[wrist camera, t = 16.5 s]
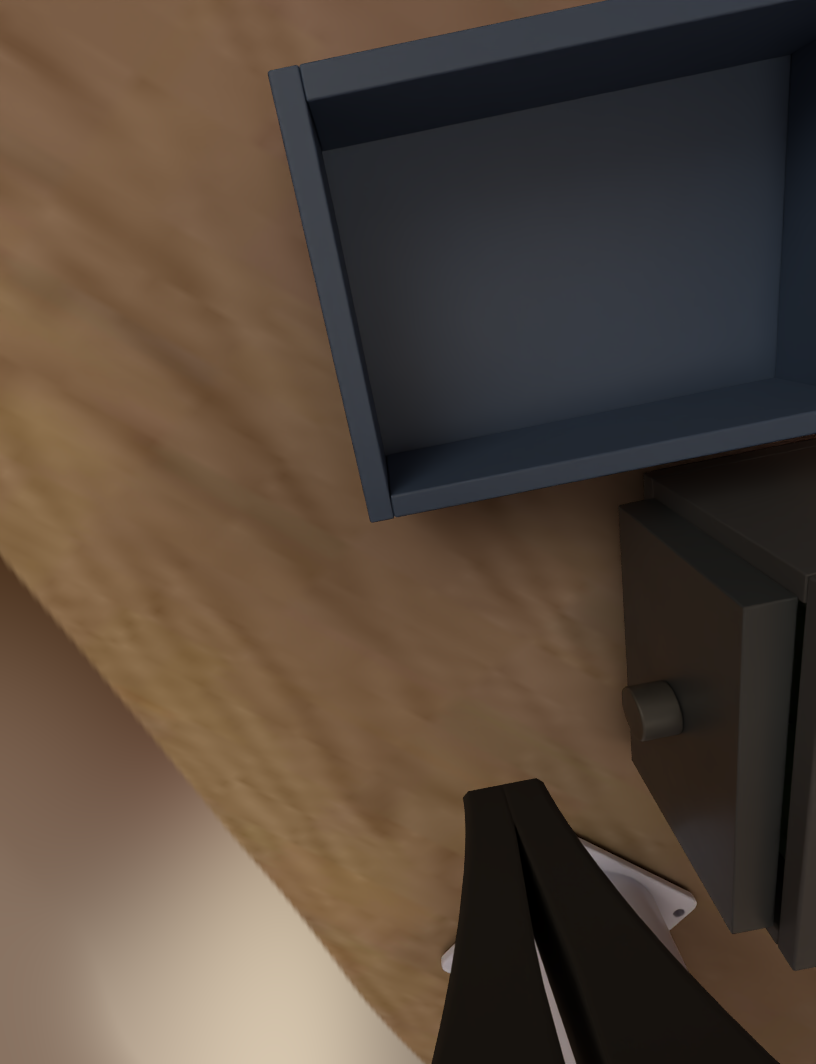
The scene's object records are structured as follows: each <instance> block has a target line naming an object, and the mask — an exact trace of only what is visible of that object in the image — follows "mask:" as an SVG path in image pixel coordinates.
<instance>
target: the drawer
mask: <svg viewBox="0 0 816 1064" xmlns="http://www.w3.org/2000/svg"><path fill="white" fill-rule="evenodd" d="M618 509H619V527H620V546H621V565H622V583H623V602H624V621H625V639H626V658H627V677H628V686H627V687H625V688H624V689H623V691H622V703H623V709H624V713H625V716H626V719H627V722H628V724H629V727H630V733H631V751H632V761H633V763H634V765H635V766H636V768H637V770H638V772H639V773H640V775H641V777H642V779H643V780H644V782H645V784H646V786H647V787H648V789H649V791H650V793H651V794H652V796H653V798H654V799H655V801H656V803H657V805H658V806H659V808H660V810H661V812H662V813H663V815H664V817H665V819H666V820H667V822H668V824H669V826H670V827H671V829H672V831H673V833H674V834H675V836H676V838H677V840H678V841H679V843H680V845H681V846H682V848H683V850H684V852H685V853H686V855H687V857H688V859H689V860H690V862H691V864H692V866H693V867H694V869H695V871H696V873H697V874H698V876H699V878H700V880H701V881H702V883H703V885H704V887H705V888H706V890H707V892H708V893H709V895H710V897H711V899H712V900H713V902H714V904H715V906H716V907H717V909H718V911H719V913H720V914H721V916H722V918H723V920H724V921H725V923H726V925H727V927H728V928H729V930H730V932H731V933H732V934H736V933H741V932H746V931H752V930H757V929H762V928H767V927H772V926H773V921H774V908H775V895H776V882H777V869H778V856H779V852H780V853H781V855H782V856H783V857H784V859H785V854H786V842H787V830H788V818H789V806H790V794H791V782H792V770H793V758H794V746H795V734H796V722H797V710H798V698H799V686H800V674H801V662H802V650H803V638H804V626H805V614H806V603H803V602H802V601H800V600H799V599H798V597H797V596H796V595H794V594H793V593H791V592H790V591H788V590H787V589H785V588H784V587H782V586H781V585H780V584H778V583H777V582H775V581H774V580H772V579H771V578H769V577H768V576H767V575H765V574H764V573H762V572H761V571H759V570H758V569H756V568H755V567H753V566H752V565H751V564H749V563H748V562H746V561H745V560H743V559H742V558H740V557H739V556H738V555H736V554H735V553H733V552H732V551H730V550H729V549H727V548H726V547H724V546H723V545H722V544H720V543H719V542H717V541H716V540H714V539H713V538H711V537H710V536H709V535H707V534H706V533H704V532H703V531H701V530H700V529H698V528H697V527H695V526H694V525H693V524H691V523H690V522H688V521H687V520H685V519H684V518H682V517H681V516H680V515H678V514H677V513H675V512H674V511H672V510H671V509H669V508H668V507H666V506H665V505H664V504H662V503H661V502H659V501H658V500H656V499H655V498H653V499H648V500H643V501H638V502H633V503H628V504H623V505H619V506H618Z"/></svg>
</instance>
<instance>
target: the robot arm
mask: <svg viewBox="0 0 816 1064" xmlns="http://www.w3.org/2000/svg"><path fill="white" fill-rule="evenodd" d="M463 801H464V809H465V831H466V834H465V861H464V875H463V885H462V895H461V905H460V914H459V922H458V929H457V935H456V941H455V944H454V945H453V946H452V947H451V948H450V949H449V950H448V951H447V952H446V953H445V954H444V955H443V956H442V958H441V963H442V968H443V970H444V971H446V972H448V973H450V979H449V984H448V989H447V994H446V1000H445V1005H444V1010H443V1015H442V1019H441V1024H440V1029H439V1033H438V1038H437V1042H436V1046H435V1051H434V1055H433V1060H432V1064H780V1063H779V1062H778V1061H776V1060H775V1059H774V1058H773V1057H772V1056H771V1055H770V1054H769V1053H768V1052H767V1051H766V1050H765V1049H764V1048H763V1047H762V1046H761V1045H760V1044H759V1043H758V1042H757V1041H756V1040H755V1039H754V1038H753V1037H752V1036H751V1035H750V1034H749V1033H748V1032H747V1031H746V1030H745V1029H744V1028H743V1027H742V1026H741V1025H740V1024H739V1023H738V1022H737V1021H736V1020H734V1019H733V1018H732V1017H731V1016H730V1015H729V1014H728V1013H727V1012H726V1011H725V1010H724V1009H723V1007H722V1006H721V1005H720V1004H719V1003H718V1002H717V1001H716V1000H715V999H714V998H713V997H712V996H711V995H710V994H709V993H708V992H707V991H706V990H705V989H704V988H703V987H702V986H701V985H700V984H699V983H698V982H697V980H696V979H695V978H694V977H693V976H692V975H691V974H690V973H689V971H688V969H687V967H686V965H685V963H684V961H683V959H682V957H681V955H680V953H679V950H678V948H677V946H676V944H675V942H674V940H673V938H672V936H671V934H670V932H669V931H670V930H671V929H672V928H673V927H674V926H675V925H676V924H678V923H679V922H680V921H681V920H682V919H683V918H685V917H686V916H687V915H688V914H689V913H690V912H691V911H693V910H694V909H695V907H696V904H697V902H696V900H695V898H694V896H693V894H692V893H690V892H689V891H687V890H684V889H682V888H680V887H678V886H676V885H674V884H672V883H670V882H668V881H666V880H664V879H662V878H660V877H658V876H656V875H654V874H652V873H650V872H648V871H646V870H644V869H642V868H640V867H638V866H636V865H634V864H632V863H630V862H628V861H626V860H624V859H621V858H619V857H617V856H615V855H613V854H611V853H609V852H607V851H605V850H603V849H601V848H599V847H597V846H595V845H593V844H591V843H589V842H587V841H585V840H583V839H581V838H579V837H577V835H576V834H575V833H574V831H573V830H572V828H571V827H570V825H569V824H568V822H567V821H566V819H565V818H564V816H563V815H562V813H561V812H560V810H559V809H558V807H557V805H556V804H555V802H554V800H553V799H552V797H551V795H550V794H549V792H548V790H547V788H546V787H545V785H544V783H543V782H542V781H540V780H539V779H537V778H535V779H529V780H524V781H519V782H514V783H509V784H504V785H499V786H493V787H488V788H483V789H478V790H473V791H468V792H467V794H466V795H465V796H464V797H463Z"/></svg>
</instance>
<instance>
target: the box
mask: <svg viewBox="0 0 816 1064" xmlns="http://www.w3.org/2000/svg"><path fill="white" fill-rule="evenodd" d="M268 77H269V82H270V86H271V90H272V95H273V99H274V103H275V108H276V112H277V116H278V121H279V125H280V130H281V134H282V138H283V143H284V147H285V151H286V156H287V160H288V164H289V169H290V173H291V178H292V182H293V186H294V191H295V195H296V199H297V204H298V208H299V212H300V217H301V221H302V226H303V230H304V234H305V239H306V243H307V247H308V252H309V256H310V261H311V265H312V269H313V274H314V278H315V282H316V287H317V291H318V295H319V300H320V304H321V309H322V313H323V317H324V322H325V326H326V330H327V335H328V339H329V343H330V348H331V352H332V357H333V361H334V365H335V370H336V374H337V378H338V383H339V387H340V391H341V396H342V400H343V405H344V409H345V413H346V418H347V422H348V426H349V431H350V435H351V439H352V444H353V448H354V453H355V457H356V461H357V466H358V470H359V474H360V479H361V483H362V487H363V492H364V496H365V501H366V505H367V509H368V514H369V518H370V521H371V522H378V521H383V520H388V519H393V518H394V516H395V517H401V516H406V515H411V514H416V513H421V512H426V511H431V510H436V509H441V508H446V507H451V506H456V505H461V504H466V503H471V502H476V501H481V500H486V499H491V498H496V497H501V496H506V495H511V494H516V493H521V492H526V491H531V490H536V489H541V488H546V487H551V486H556V485H561V484H566V483H571V482H576V481H581V480H586V479H591V478H596V477H601V476H606V475H611V474H616V473H621V472H626V471H631V470H636V469H641V468H646V467H651V466H656V465H661V464H666V463H671V462H676V461H681V460H686V459H691V458H696V457H701V456H706V455H711V454H716V453H721V452H726V451H731V450H736V449H741V448H746V447H751V446H756V445H761V444H766V443H771V442H776V441H781V440H786V439H791V438H796V437H801V436H806V435H811V434H816V0H606V1H602V2H597V3H592V4H587V5H582V6H578V7H573V8H568V9H563V10H558V11H554V12H549V13H544V14H539V15H535V16H530V17H525V18H520V19H515V20H511V21H506V22H501V23H496V24H491V25H487V26H482V27H477V28H472V29H467V30H463V31H458V32H453V33H448V34H443V35H439V36H434V37H429V38H424V39H419V40H415V41H410V42H405V43H400V44H395V45H391V46H386V47H381V48H376V49H372V50H367V51H362V52H357V53H352V54H348V55H343V56H338V57H333V58H328V59H324V60H319V61H314V62H309V63H304V64H301V65H300V68H299V66H297V65H294V66H290V67H285V68H280V69H275V70H270V71H269V72H268Z"/></svg>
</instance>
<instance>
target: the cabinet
mask: <svg viewBox="0 0 816 1064" xmlns="http://www.w3.org/2000/svg"><path fill="white" fill-rule="evenodd" d="M653 498H655V499H656V500H658V501H659V502H661V503H662V504H664V505H665V506H666V507H668V508H669V509H671V510H672V511H674V512H675V513H677V514H678V515H680V516H681V517H682V518H684V519H685V520H687V521H688V522H690V523H691V524H693V525H694V526H695V527H697V528H698V529H700V530H701V531H703V532H704V533H706V534H707V535H709V536H710V537H711V538H713V539H714V540H716V541H717V542H719V543H720V544H722V545H723V546H724V547H726V548H727V549H729V550H730V551H732V552H733V553H735V554H736V555H738V556H739V557H740V558H742V559H743V560H745V561H746V562H748V563H749V564H751V565H752V566H753V567H755V568H756V569H758V570H759V571H761V572H762V573H764V574H765V575H767V576H768V577H769V578H771V579H772V580H774V581H775V582H777V583H778V584H780V585H781V586H782V587H784V588H785V589H787V590H788V591H790V592H791V593H793V594H794V595H796V596H797V597H798V599H799V600H800V601H802V602H803V603H806V614H805V626H804V638H803V650H802V662H801V674H800V686H799V698H798V710H797V722H796V734H795V746H794V758H793V770H792V782H791V794H790V806H789V818H788V830H787V842H786V854H785V859H784V857H783V856H782V855H781V853H780V852H779V856H778V869H777V882H776V895H775V908H774V921H773V926H772V927H767V928H766V929H767V931H768V932H769V934H770V935H771V937H772V938H773V940H774V942H775V943H776V944H778V948H779V949H780V951H781V952H782V954H783V956H784V957H785V959H786V960H787V962H788V963H789V965H790V967H791V968H792V969H793V970H794V971H797V970H803V969H808V968H813V967H816V439H811V440H806V441H801V442H796V443H791V444H786V445H781V446H776V447H771V448H766V449H761V450H756V451H751V452H746V453H741V454H736V455H731V456H726V457H721V458H716V459H711V460H706V461H701V462H696V463H691V464H686V465H681V466H676V467H671V468H666V469H661V470H656V471H651V472H646V473H644V500H648V499H653Z"/></svg>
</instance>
